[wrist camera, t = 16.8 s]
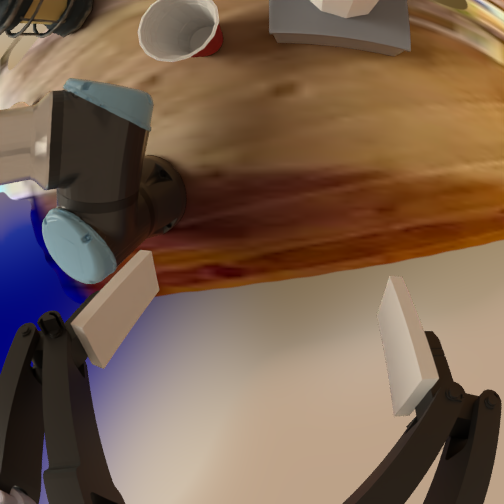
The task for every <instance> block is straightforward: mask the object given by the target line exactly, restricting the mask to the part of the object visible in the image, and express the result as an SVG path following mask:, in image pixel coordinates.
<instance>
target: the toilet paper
mask: <svg viewBox="0 0 504 504" xmlns="http://www.w3.org/2000/svg"><path fill="white" fill-rule="evenodd" d="M310 1H311V2H312V3H313V4H314V5H315V6H316V7H317V8H319V9H320V10H321V11H323V12H327V13H330V14H334V15H337V16H340V17H344V18H350V17H355V16H360V15H366V14H369V12H370V11H371V10H372V9H373V7H374V6H375V5H376V4H377V2H378V1H379V0H310Z"/></svg>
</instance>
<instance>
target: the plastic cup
mask: <svg viewBox="0 0 504 504" xmlns="http://www.w3.org/2000/svg"><path fill="white" fill-rule="evenodd" d="M138 37H139V44H140V45H141V47H142V48H143V50H144V51H145V53H146V54H147V55H149V56H151V57H152V58H154V59H156V60H158V61H168V62H175V61H179V60H183V59H186V58H190V57H204V56H209V55H212V54H213V53H215V52H217V51H218V50H219V48H220V47H221V46H222V42H223V34H222V31H221V29H220V26H219V15H218V9H217V6H216V5H215V4H214V2H213V1H212V0H157V1H156V2H154V3H153V4H151V6H150V7H149V8H148V10H147V11H146V12H145V14H144V15H143V16H142V18H141V22H140V25H139V28H138Z"/></svg>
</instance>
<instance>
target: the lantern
mask: <svg viewBox="0 0 504 504" xmlns="http://www.w3.org/2000/svg"><path fill="white" fill-rule="evenodd" d="M92 3H93V0H0V35H1V34H2V33H3V32H4V31H5V32H6V34H7V35H8V37H11V38H16V37H17V36H19V35H36V36H37V37H40V38H44V37H46V36H49V35H51V34H52V33H56V34H58V35H61V36H62V37H65V36H67V35H69V34H70V33H72V32H74V31H76V30H78V29H79V28H80V27H81V26H82V24H83V22H84V21H85V19H86V18H87V16H88V15H89V14H90V12H91V11H92ZM19 23H27V24H26V25H25V26H24V28H23V29H22V30H21V31H20V32H18V33H11V31H10V30H12V29H13V28H14V27H15V26H17V25H18V24H19ZM31 23H33V32H34V33H23V32H24V31H25V30H26V29H27V28H28V27H29V25H30V24H31ZM36 24H44V25H45V26H46V27H47V28H48V29H49V30H48V31H47V32H46V33H38V31H37V29H36Z"/></svg>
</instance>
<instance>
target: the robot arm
mask: <svg viewBox="0 0 504 504" xmlns="http://www.w3.org/2000/svg"><path fill="white" fill-rule="evenodd" d="M63 88H64V90H62V91H49V92H48V93H47V94H46V95H45V96H44V97H43V98H42V99H41V100H40V101H39V102H38V103H37V104H35V105H33V106H24V107H17V108H10V109H4V110H0V185H4V184H9V183H14V182H19V181H25V180H33V181H35V182H36V183H37V184H38V185H39V186H40V187H41V188H42V189H44V190H50V189H56V188H57V207H56V208H54V209H52V210H50V211H49V213H48V214H47V215H46V217H45V218H44V220H43V224H42V233H43V238H44V241H45V244H46V247H47V249H48V251H49V253H50V254H51V256H52V258H53V259H54V260H55V262H56V263H57V264H58V265H59V266H60V268H61V269H62V270H63V271H64V272H66V273H67V274H68V275H69V276H71V277H72V278H74V279H76V280H78V281H80V282H82V283H87V284H95V283H98V282H100V281H102V280H103V279H104V278H105V277H107V276H108V275H109V274H110V273H113V272H114V271H115V270H116V267H117V266H118V265H119V264H120V263H121V262H122V261H123V260H124V259H126V258H127V257H128V256H129V255H130V254H131V253H132V252H133V251H134V250H135V249H136V248H137V247H138V246H139V245H140V244H141V243H142V242H143V241H144V240H145V239H147V238H150V237H154V236H158V235H161V234H164V233H166V232H167V231H169V230H170V229H172V228H173V227H174V226H175V225H176V224H177V223H178V222H179V221H180V219H181V218H182V216H183V214H184V211H185V207H186V190H185V186H184V183H183V181H182V179H181V177H180V175H179V173H178V172H177V171H176V169H175V168H174V167H173V166H172V165H171V164H170V163H168V162H167V161H165V160H164V159H162V158H159V157H156V156H151V155H145V151H146V146H147V141H148V136H149V131H151V126H150V123H151V117H152V112H153V106H154V104H153V99H152V97H151V96H150V95H149V94H148V93H146V92H144V91H141V90H137V89H133V88H128V87H124V86H119V85H114V84H108V83H103V82H97V81H90V80H82V79H74V78H70V79H68V80H67V82H66V83H65V85H64V87H63ZM158 291H159V287H158V282H157V277H156V273H155V268H154V263H153V258H152V252H151V251H145V250H140V251H139V252H138V253H137V254H136V255H135V256H134V257H133V258H132V259H131V260H130V261H129V262H128V263H127V264H126V265H125V266H124V267H123V268H122V269H121V270H120V271H119V272H118V273H117V274H116V275H115V276H114V277H113V278H112V279H111V280H110V281H109V282H108V283H107V284H106V285H105V286H104V287H103V288H102V290H101V291H96V292H95V293H93V294H92V295H90V296H89V297H88V298H87V299H86V300H85V301H84V303H82V304H81V306H80V308H78V309H77V310H76V311H75V312H74V313H73V314H72V316H71V317H70V318H69V319H68V320H67V321H66V322H65V323H64V322H63V320H62V318H61V316H60V314H59V313H58V312H57V311H48V312H46V313H44V314H43V315H42V316H41V317H40V318H39V319H38V322H37V323H38V325H39V327H40V329H41V331H38V330H37V328H36V326H35V325H34V324H33V323H26V324H24V325H22V326H21V327H20V328H19V329H18V331H17V333H16V335H15V337H14V340H13V342H12V345H11V347H10V350H9V352H8V355H7V358H6V360H5V363H4V366H3V369H2V372H1V374H0V504H39V499H40V492H41V469H42V452H43V440H44V432H45V440H46V448H47V455H48V461H49V468H48V469H47V470H45V471H44V474H43V479H44V484H45V489H46V493H47V498H48V502H49V504H125V502H124V500H123V498H122V496H121V494H120V493H119V491H118V490H117V488H116V487H115V486H114V484H113V482H112V478H111V475H110V472H109V469H108V466H107V463H106V459H105V456H104V452H103V448H102V444H101V441H100V437H99V432H98V428H97V424H96V419H95V414H94V409H93V403H92V397H91V391H90V385H89V378H88V370H87V365H86V362H85V360H86V359H87V357H89V359H90V361H91V363H92V364H93V365H96V366H98V367H100V368H103V369H104V368H105V366H106V365H107V363H108V362H109V360H110V359H111V357H112V356H113V354H114V353H115V351H116V350H117V349H118V347H119V346H120V344H121V343H122V341H123V340H124V338H125V337H126V336H127V334H128V333H129V331H130V330H131V328H132V327H133V325H134V324H135V323H136V321H137V320H138V318H139V317H140V316H141V314H142V313H143V311H144V310H145V309H146V307H147V306H148V305H149V303H150V302H151V300H152V299H153V298H154V296H155V295H156V294H157V292H158ZM377 320H378V324H379V329H380V334H381V338H382V343H383V349H384V354H385V360H386V365H387V371H388V377H389V383H390V390H391V398H392V405H393V413H394V416H408V415H410V414H411V413H412V412H413V410H414V409H415V410H416V417H415V418H414V419H413V420H412V422H410V423H409V425H408V426H407V429H406V431H405V432H404V434H403V435H402V436H401V438H400V439H399V440H398V442H397V443H396V445H395V446H394V447H393V448H392V450H391V451H390V452H389V453H388V455H387V456H386V457H385V458H384V460H383V461H382V462H381V463H380V464H379V466H378V467H377V468H376V469H375V470H374V471H373V473H372V474H371V475H370V476H369V477H368V478H367V479H366V480H365V481H364V482H363V484H362V485H361V486H360V487H359V488H358V489H357V490H356V491H355V492H354V493H353V494H352V495H351V496H350V497H349V498H348V499H347V500H346V501H345V502H344V503H343V504H404V503H405V502H406V501H407V499H408V498H409V497H410V495H411V494H412V493H413V491H414V490H415V489H416V487H417V486H418V484H419V483H420V482H421V480H422V479H423V477H424V475H425V474H426V473H427V471H428V469H429V468H430V466H431V465H432V463H433V462H434V460H435V458H436V457H437V455H438V453H439V452H440V450H441V448H442V446H443V445H444V443H445V445H444V448H443V452H442V455H441V458H440V461H439V464H438V467H437V470H436V473H435V475H434V478H433V481H432V483H431V486H430V488H429V491H428V493H427V496H426V498H425V500H424V502H423V504H483V503H484V500H485V496H486V493H487V489H488V486H489V482H490V478H491V474H492V469H493V465H494V460H495V455H496V449H497V443H498V435H499V428H500V418H501V399H500V397H499V395H498V394H497V393H496V392H495V391H493V390H485V391H483V393H482V394H481V395H480V396H475V395H470V394H467V393H465V391H464V389H463V388H462V386H460V385H459V384H458V383H456V382H454V381H453V379H452V376H451V372H450V369H449V366H448V363H447V360H446V357H445V356H444V351H443V349H442V346H441V344H440V341H439V339H438V337H437V336H436V335H435V334H434V333H433V331H424V330H423V327H422V324H421V322H420V319H419V316H418V313H417V311H416V309H415V306H414V303H413V301H412V298H411V296H410V294H409V291H408V289H407V286H406V284H405V282H404V279H403V277H401V276H389V279H388V282H387V285H386V289H385V292H384V295H383V298H382V301H381V304H380V307H379V310H378V313H377ZM31 361H32V362H33V363H34V364H33V367H31V366H30V364H31Z"/></svg>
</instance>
